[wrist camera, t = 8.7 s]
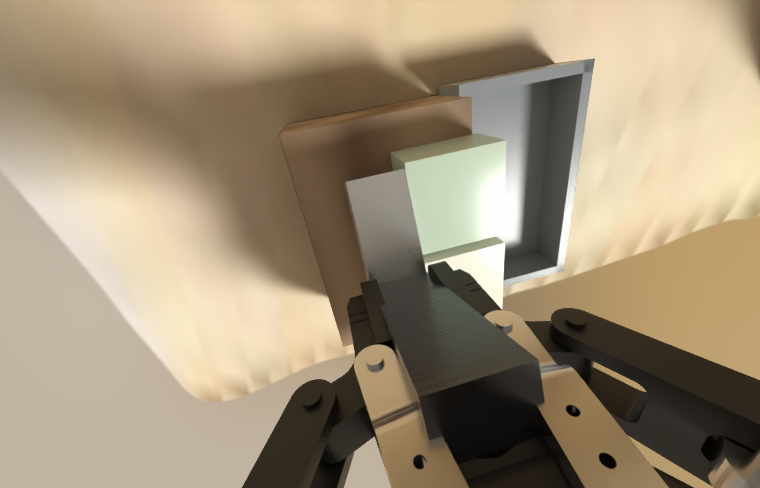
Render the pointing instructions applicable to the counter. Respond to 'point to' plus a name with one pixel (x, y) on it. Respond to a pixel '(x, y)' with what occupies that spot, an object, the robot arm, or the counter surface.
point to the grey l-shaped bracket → (443, 334)
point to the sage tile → (456, 189)
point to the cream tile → (477, 263)
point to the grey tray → (534, 156)
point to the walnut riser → (357, 176)
